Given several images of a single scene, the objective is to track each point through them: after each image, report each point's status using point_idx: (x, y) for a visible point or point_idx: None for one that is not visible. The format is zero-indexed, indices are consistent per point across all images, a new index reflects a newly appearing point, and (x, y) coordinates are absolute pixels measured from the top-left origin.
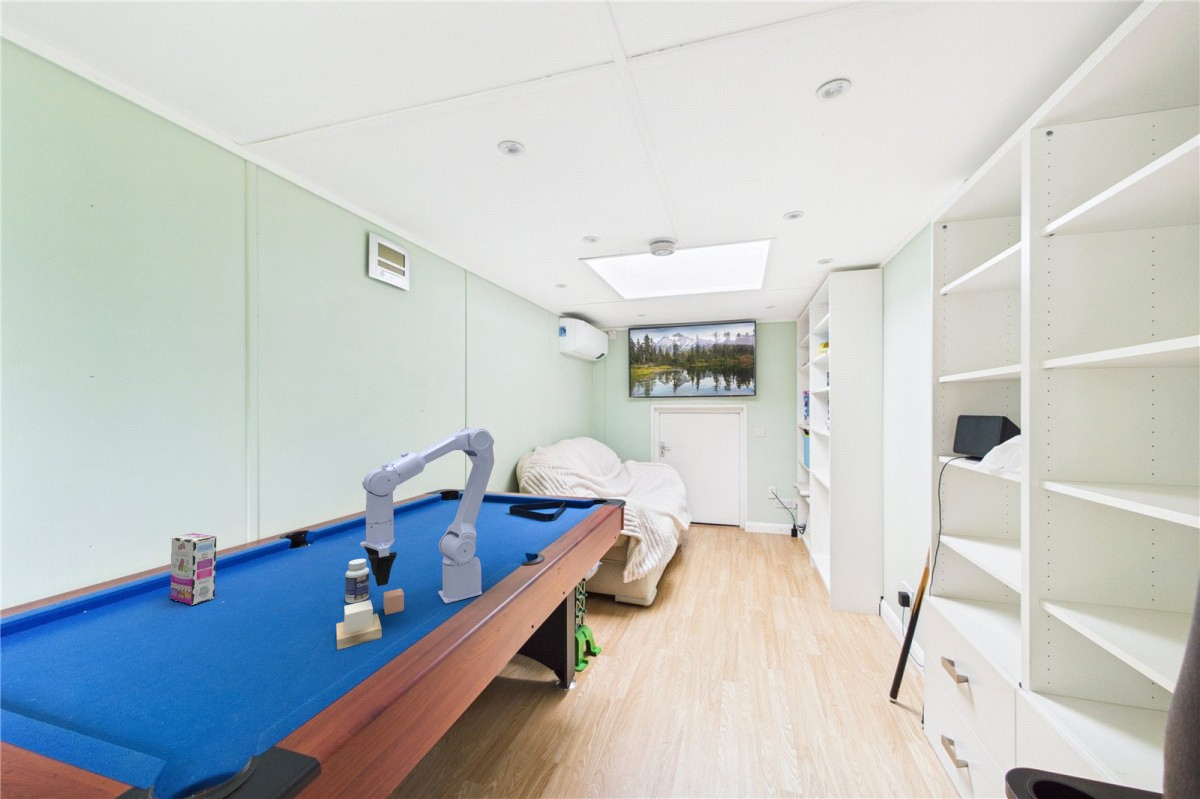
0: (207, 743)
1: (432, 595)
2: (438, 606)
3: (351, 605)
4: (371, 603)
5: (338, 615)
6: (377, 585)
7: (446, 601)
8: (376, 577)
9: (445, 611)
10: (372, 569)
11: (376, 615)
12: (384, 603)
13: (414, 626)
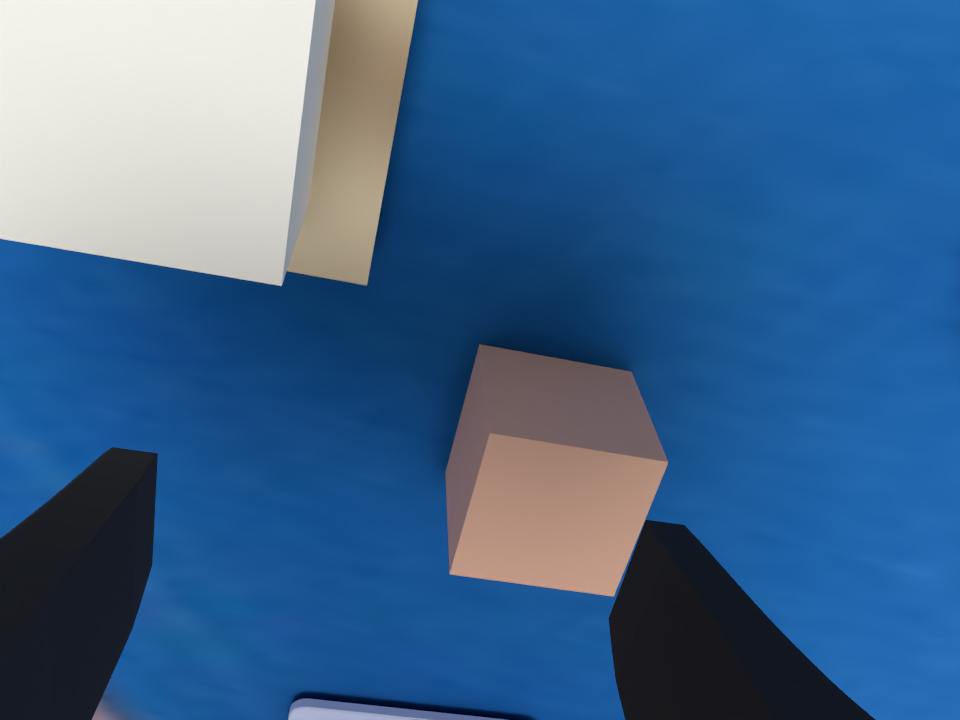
0: None
1: (542, 684)
2: (302, 653)
3: (259, 44)
4: (137, 261)
5: (871, 12)
6: (108, 454)
7: (297, 715)
8: (17, 533)
9: (173, 657)
10: (680, 580)
11: (322, 264)
12: (574, 398)
13: (57, 437)
